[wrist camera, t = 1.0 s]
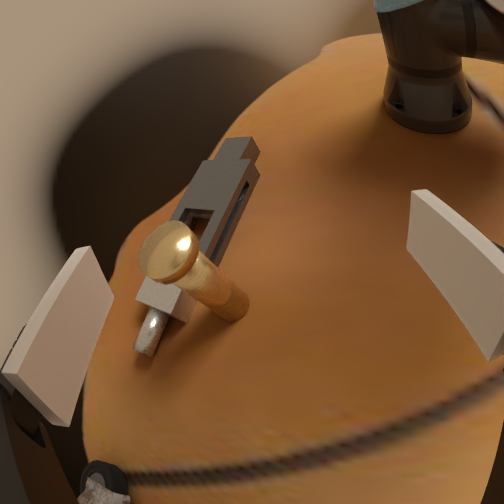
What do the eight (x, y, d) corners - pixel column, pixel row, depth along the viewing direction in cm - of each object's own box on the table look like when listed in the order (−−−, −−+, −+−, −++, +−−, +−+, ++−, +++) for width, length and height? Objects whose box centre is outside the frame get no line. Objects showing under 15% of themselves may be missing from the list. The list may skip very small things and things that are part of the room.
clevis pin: (224, 279, 40) (156, 218, 29) (262, 289, 37) (200, 223, 26) (206, 320, 38) (129, 270, 27) (245, 333, 35) (171, 283, 24)
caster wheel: (111, 461, 35) (154, 480, 30) (97, 521, 28) (138, 548, 23) (75, 448, 31) (113, 470, 26) (59, 512, 24) (95, 545, 19)
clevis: (225, 153, 53) (216, 139, 50) (271, 151, 48) (262, 135, 46) (130, 344, 41) (113, 337, 38) (174, 368, 36) (156, 362, 33)
